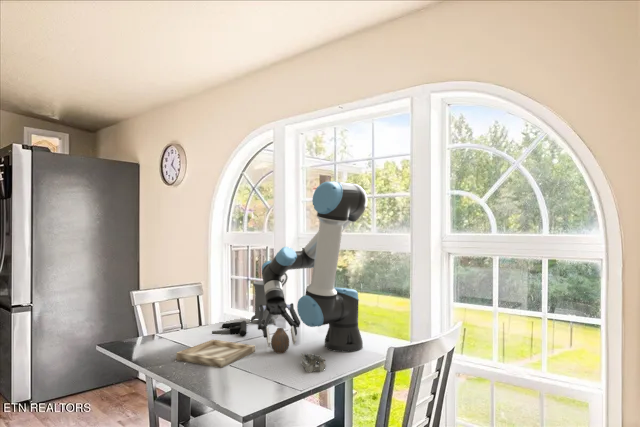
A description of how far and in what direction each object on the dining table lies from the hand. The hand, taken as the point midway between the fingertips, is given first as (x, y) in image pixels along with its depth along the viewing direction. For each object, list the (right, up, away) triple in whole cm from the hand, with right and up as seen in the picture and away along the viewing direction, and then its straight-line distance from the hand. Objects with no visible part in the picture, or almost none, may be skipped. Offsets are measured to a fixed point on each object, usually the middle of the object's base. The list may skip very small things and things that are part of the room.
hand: (281, 343), depth 163 cm
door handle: (-26, -5, +33) cm, 42 cm away
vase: (-1, -4, +3) cm, 5 cm away
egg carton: (+12, -4, -15) cm, 19 cm away
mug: (-11, -5, +53) cm, 55 cm away
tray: (-24, -4, -3) cm, 24 cm away
